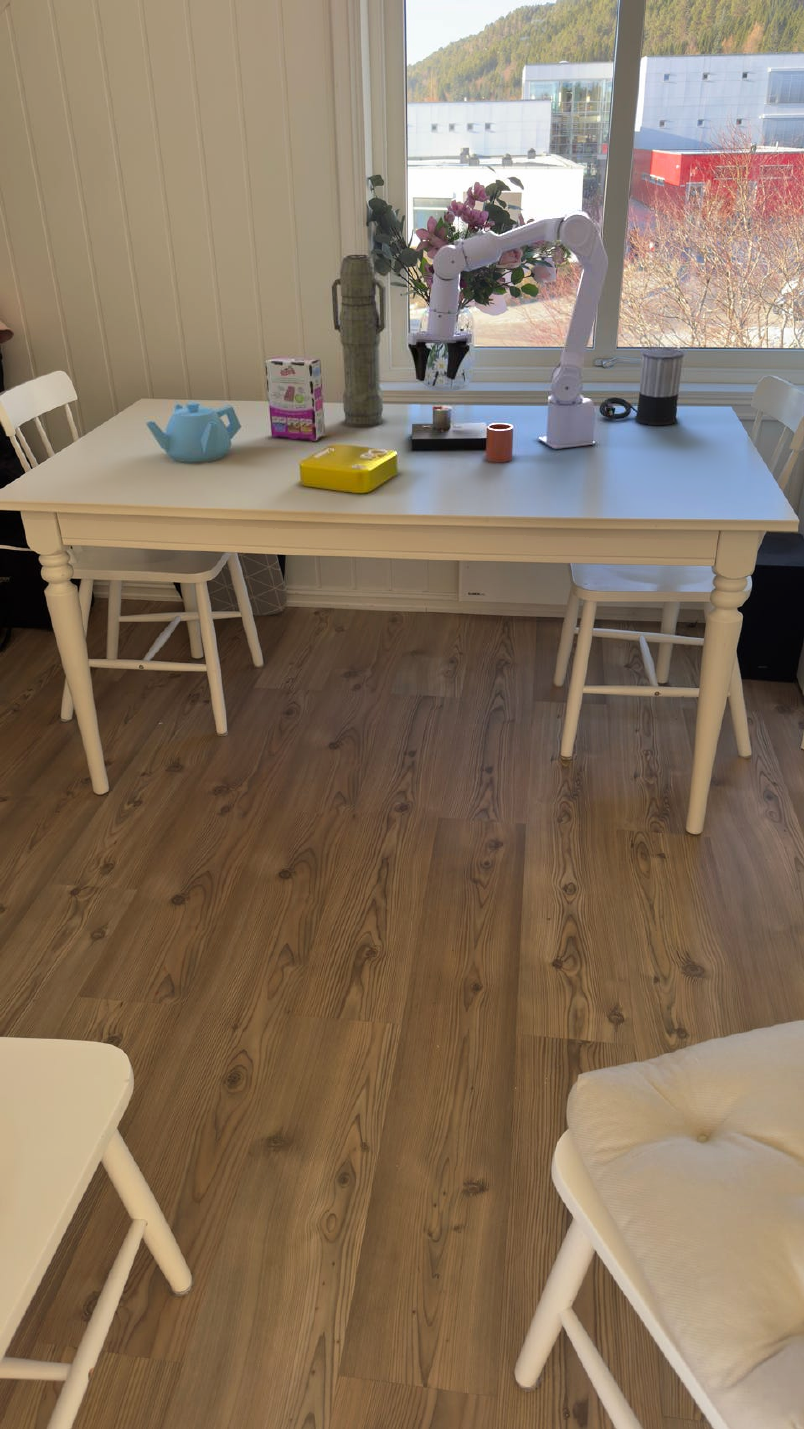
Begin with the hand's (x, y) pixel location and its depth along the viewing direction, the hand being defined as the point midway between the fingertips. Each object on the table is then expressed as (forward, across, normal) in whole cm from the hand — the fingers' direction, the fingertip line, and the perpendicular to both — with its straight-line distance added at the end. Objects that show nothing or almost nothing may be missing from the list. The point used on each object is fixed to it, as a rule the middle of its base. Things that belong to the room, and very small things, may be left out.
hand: (435, 379), depth 214 cm
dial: (+10, -3, 0) cm, 11 cm away
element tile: (+15, +27, +14) cm, 33 cm away
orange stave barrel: (+11, -5, +19) cm, 23 cm away
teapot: (+19, +45, -19) cm, 52 cm away
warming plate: (+12, -3, +4) cm, 13 cm away
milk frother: (+8, -48, +12) cm, 50 cm away
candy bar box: (+17, +22, -19) cm, 33 cm away
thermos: (+15, +4, -21) cm, 27 cm away
